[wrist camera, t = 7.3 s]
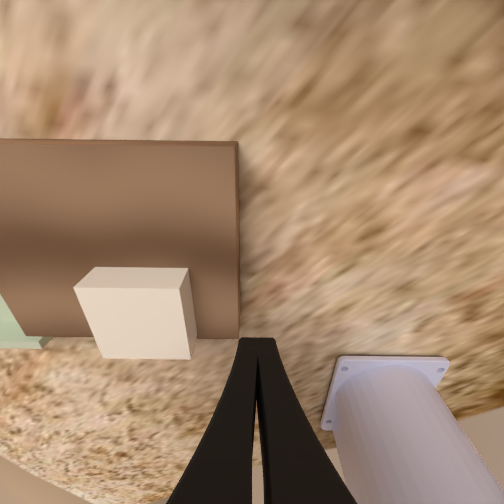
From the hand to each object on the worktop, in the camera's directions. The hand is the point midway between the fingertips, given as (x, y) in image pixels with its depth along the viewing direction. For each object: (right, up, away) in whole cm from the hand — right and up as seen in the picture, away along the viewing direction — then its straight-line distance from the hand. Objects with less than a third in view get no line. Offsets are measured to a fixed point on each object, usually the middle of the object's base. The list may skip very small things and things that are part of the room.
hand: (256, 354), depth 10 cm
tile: (-5, +2, +3) cm, 6 cm away
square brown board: (-7, +5, +4) cm, 9 cm away
